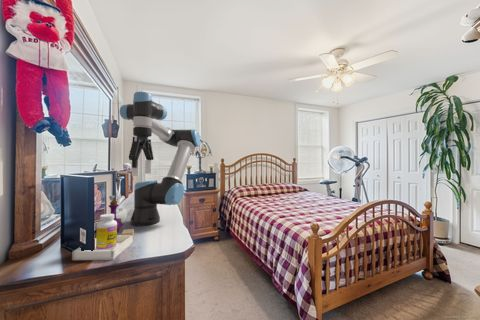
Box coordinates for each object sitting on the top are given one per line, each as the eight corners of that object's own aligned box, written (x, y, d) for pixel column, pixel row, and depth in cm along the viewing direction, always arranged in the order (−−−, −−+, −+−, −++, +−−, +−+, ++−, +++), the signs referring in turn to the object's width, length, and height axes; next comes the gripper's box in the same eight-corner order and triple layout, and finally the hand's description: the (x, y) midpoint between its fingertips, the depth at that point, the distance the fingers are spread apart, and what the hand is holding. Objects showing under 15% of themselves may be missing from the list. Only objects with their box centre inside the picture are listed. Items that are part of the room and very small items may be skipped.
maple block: (123, 238, 92) (123, 229, 92) (133, 237, 93) (133, 229, 93) (121, 242, 88) (121, 232, 88) (132, 241, 90) (132, 231, 90)
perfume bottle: (106, 231, 101) (106, 194, 101) (123, 230, 103) (123, 194, 103) (99, 237, 94) (100, 197, 94) (118, 235, 96) (119, 196, 96)
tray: (100, 242, 87) (100, 235, 87) (133, 242, 88) (133, 235, 88) (72, 260, 72) (72, 251, 72) (113, 259, 72) (113, 251, 72)
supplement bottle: (106, 253, 76) (107, 217, 76) (91, 251, 77) (92, 216, 77) (120, 246, 83) (121, 213, 83) (106, 244, 84) (107, 212, 84)
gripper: (145, 131, 106) (145, 172, 106) (119, 122, 81) (118, 176, 81) (160, 131, 107) (160, 172, 107) (138, 122, 82) (138, 176, 82)
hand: (142, 174), depth 94 cm, fingers open, 13 cm apart
